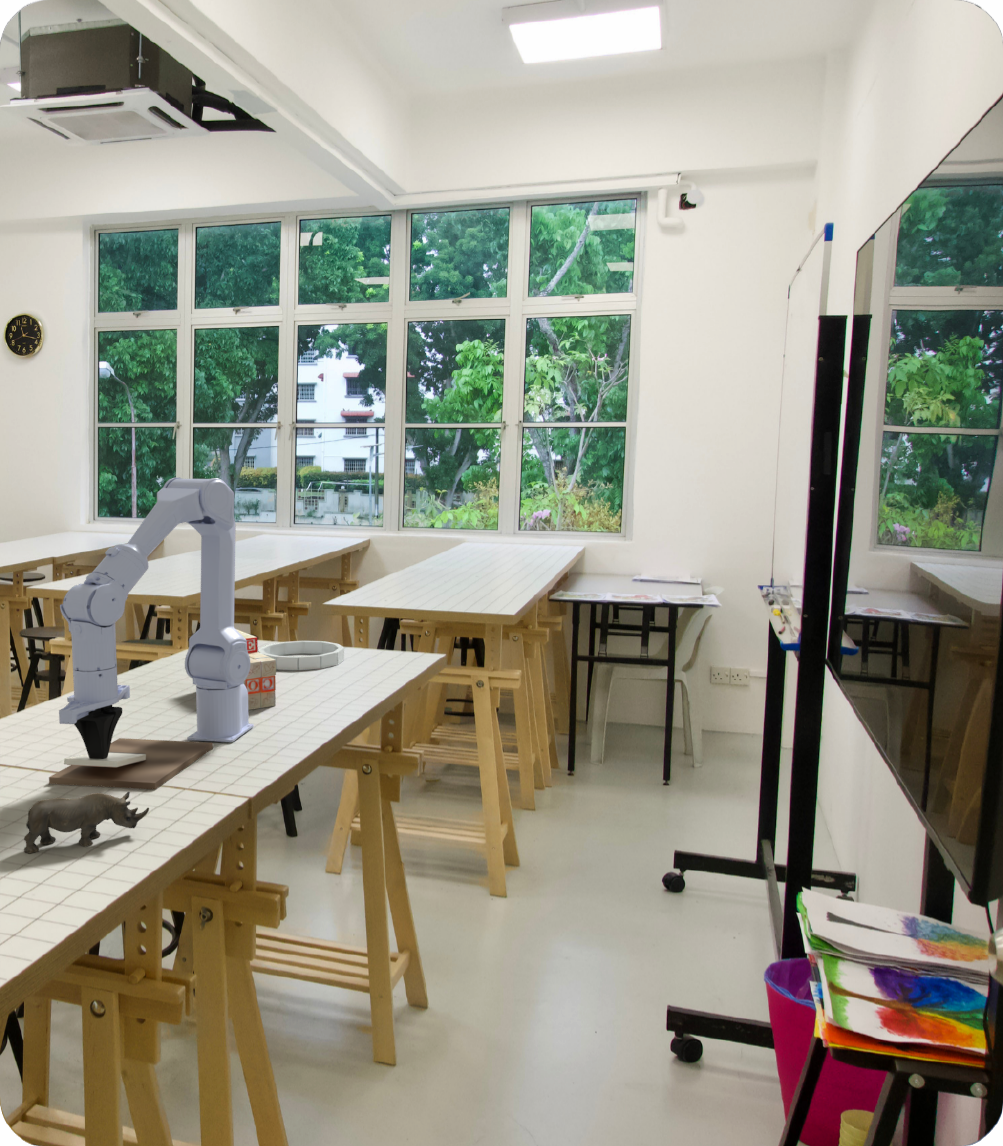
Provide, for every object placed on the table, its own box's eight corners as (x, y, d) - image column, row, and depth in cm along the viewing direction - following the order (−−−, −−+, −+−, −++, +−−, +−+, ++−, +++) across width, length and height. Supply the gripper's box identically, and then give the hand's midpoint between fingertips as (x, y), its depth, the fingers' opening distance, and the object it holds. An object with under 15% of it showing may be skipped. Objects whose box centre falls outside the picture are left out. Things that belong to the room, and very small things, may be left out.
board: (119, 744, 140) (119, 732, 140) (212, 748, 139) (212, 736, 138) (49, 783, 122) (48, 770, 122) (155, 789, 120) (154, 776, 120)
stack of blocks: (276, 706, 165) (275, 644, 163) (245, 711, 161) (244, 647, 160) (237, 684, 182) (236, 627, 180) (207, 688, 178) (206, 630, 176)
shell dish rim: (277, 651, 215) (276, 639, 215) (352, 654, 213) (352, 642, 213) (245, 668, 196) (245, 655, 196) (328, 671, 194) (328, 658, 194)
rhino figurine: (150, 839, 104) (148, 792, 104) (22, 857, 99) (19, 807, 98) (149, 826, 108) (148, 780, 107) (26, 843, 103) (24, 795, 102)
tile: (64, 758, 122) (63, 765, 122) (117, 761, 121) (116, 767, 121) (96, 751, 130) (95, 757, 130) (145, 754, 129) (145, 760, 129)
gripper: (97, 655, 130) (100, 742, 131) (36, 677, 115) (40, 774, 117) (141, 657, 129) (144, 744, 130) (85, 679, 115) (89, 776, 116)
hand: (98, 758), depth 124 cm, fingers closed, pressing on tile
